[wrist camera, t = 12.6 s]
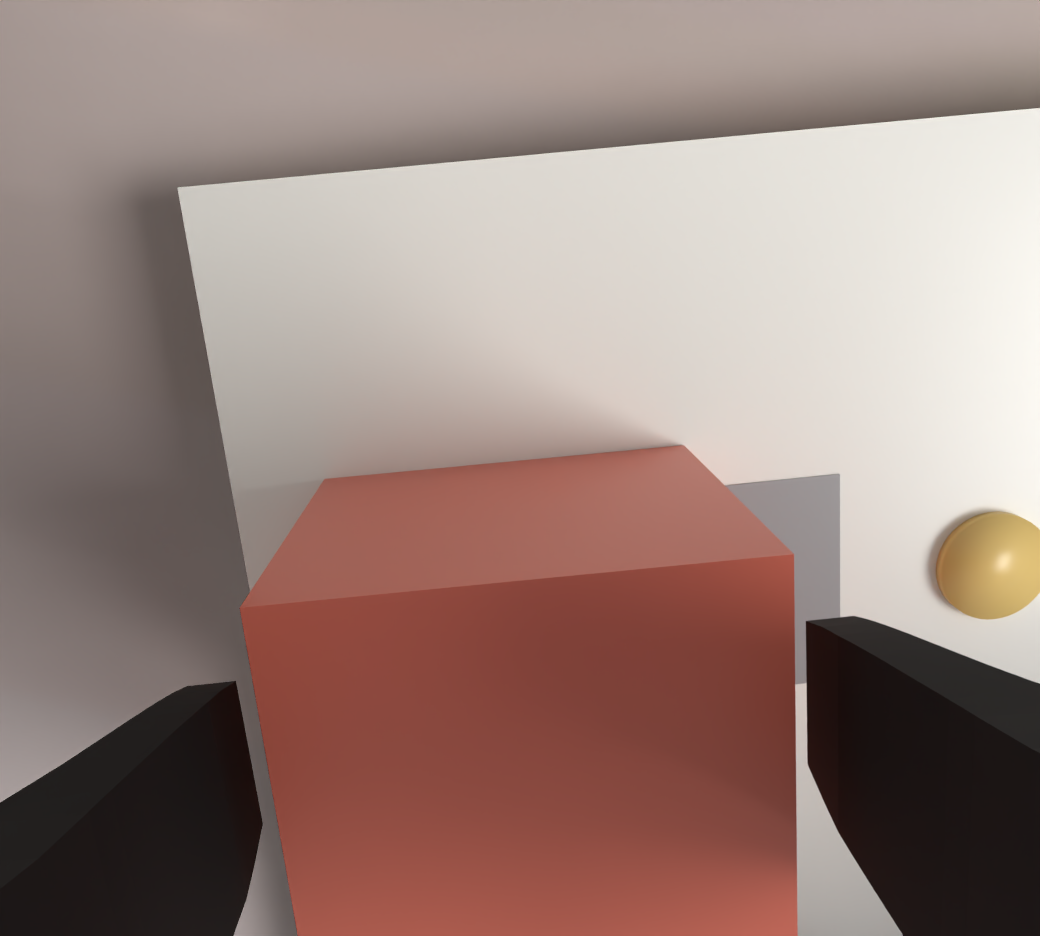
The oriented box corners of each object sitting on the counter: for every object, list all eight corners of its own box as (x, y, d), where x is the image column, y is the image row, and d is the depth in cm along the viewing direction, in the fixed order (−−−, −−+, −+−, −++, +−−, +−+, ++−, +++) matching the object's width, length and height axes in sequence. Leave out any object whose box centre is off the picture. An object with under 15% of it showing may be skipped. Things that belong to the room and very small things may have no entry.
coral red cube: (683, 445, 14) (794, 554, 9) (696, 762, 15) (798, 1005, 10) (324, 479, 14) (239, 607, 9) (370, 795, 15) (319, 1055, 10)
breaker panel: (1137, 107, 14) (1424, 48, 10) (1061, 1084, 19) (1232, 1329, 15) (208, 193, 14) (87, 171, 10) (374, 1166, 19) (345, 1440, 15)
